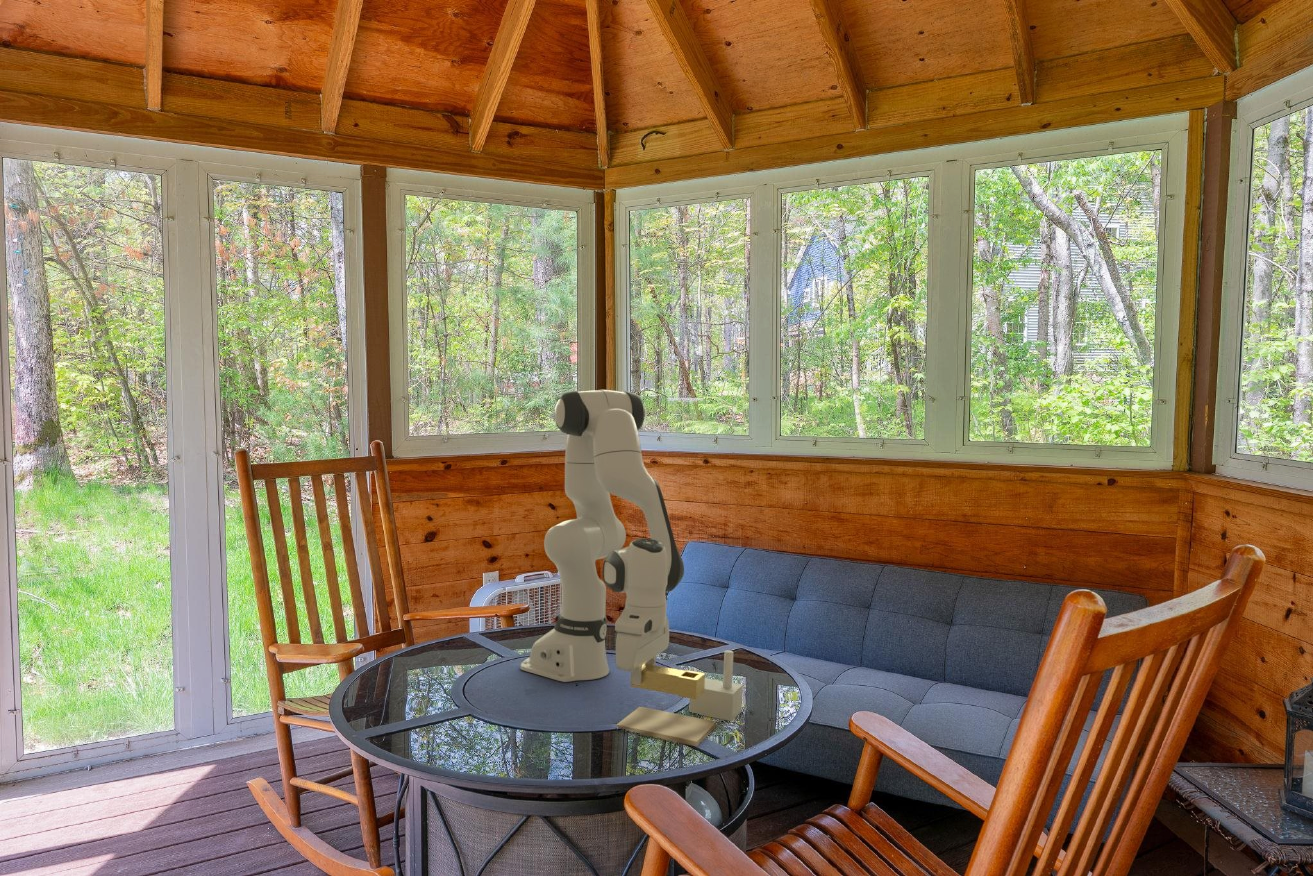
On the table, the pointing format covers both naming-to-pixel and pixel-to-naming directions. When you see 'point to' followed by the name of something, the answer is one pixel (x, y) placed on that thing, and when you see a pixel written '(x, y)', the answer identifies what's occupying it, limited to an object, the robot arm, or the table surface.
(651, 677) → the brass hook bar
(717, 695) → the peg block
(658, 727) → the birch pad
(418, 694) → the table surface
